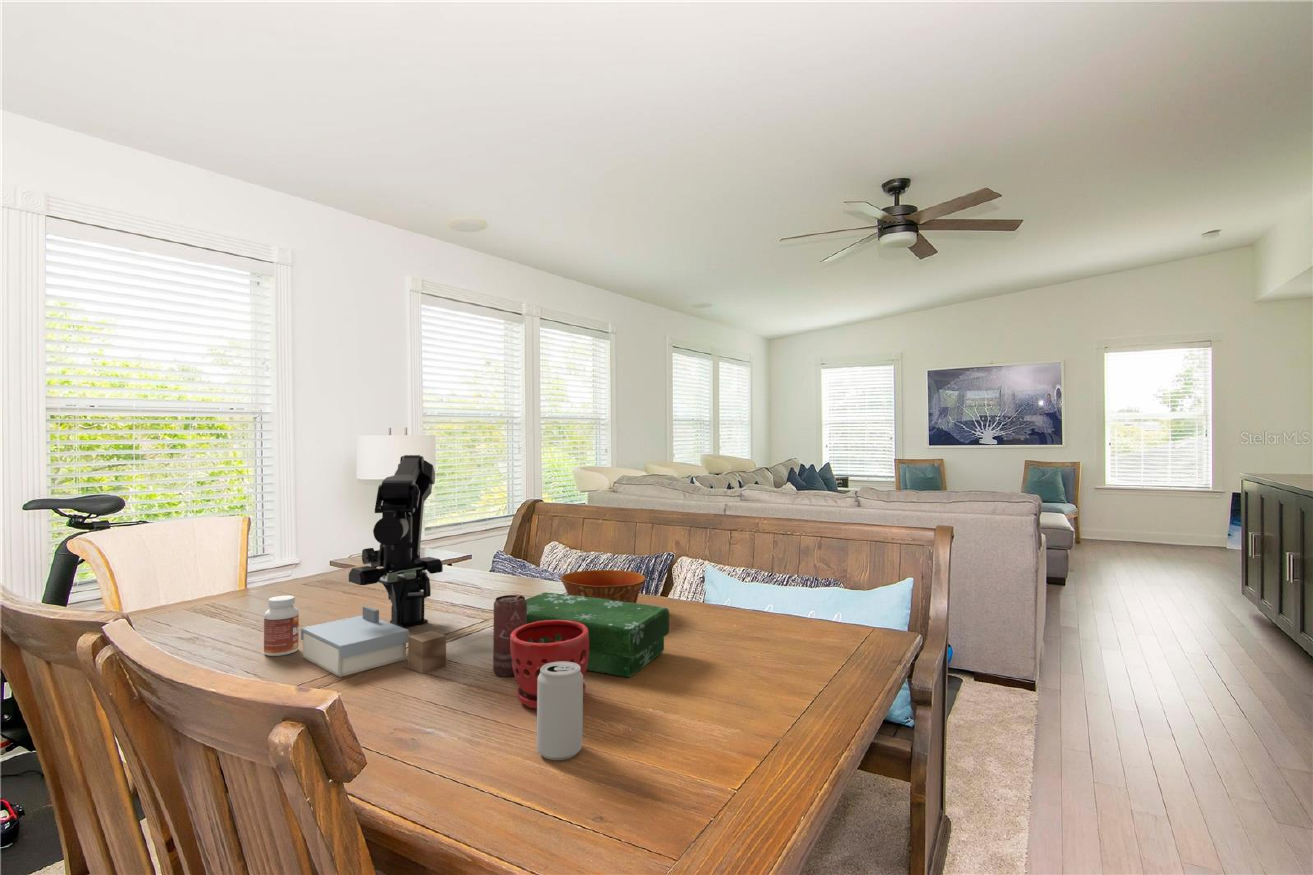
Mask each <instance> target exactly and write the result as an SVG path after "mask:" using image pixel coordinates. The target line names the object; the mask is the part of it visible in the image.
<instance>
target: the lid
mask: <svg viewBox="0 0 1313 875" xmlns="http://www.w3.org/2000/svg"><path fill="white" fill-rule="evenodd" d="M304 632H305V633H307V634H309V635H311V636H313V637H315V638H317V639H319V640H321V641H324V642H326V643H328V644H330V645H332V646H334V647H336V648H338V649H339V659H344V658H348V657H352V656H355V655H359V654H363V653H367V652H371V651H375V650H379V649H383V648H387V647H391V646H395V645H399V644H403V643H406V644H408V636H410V634H409V633H410V629H408V628H406V627H404V628H403V627H400V626H397V625H394V624H392V623H390V621H389V622H388V621H386V620H383V619H380V610H379V609H377V608H375V607H371V606H369V605H366V606H362V614H360V615H357V616H352V617H346V618H342V619H341V618H340V619H338V620H332V621H327V622H322V623H318V624H317V623H316V624H312V625H308V626H303V627H300V641H303V633H304Z"/></svg>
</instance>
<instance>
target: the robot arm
mask: <svg viewBox="0 0 1313 875" xmlns="http://www.w3.org/2000/svg"><path fill="white" fill-rule="evenodd" d="M399 461H400V462H399V464H397V469H396V470H395V473H394V474H393V475H391V476H387V477H385V478H384V479H383V480H382V481H381V484H379V485H378V487H377V494H376V499H375V506H374V514H382V517H381V518H380V519H379V520H378V521H376V523H375V524H374V526H373V530H372V533H373V536H374V539H375V540H376V541H377V542H378V543H379V549H378V550H375V549H374V548H373V547H369V548H368V547H367V548H364V549H362V551H361V562H362V564H363V565H364V566H358V567H357V566H356V567H353V568H351V569H350V571H349V572H348V582H349V583H352V584H356V585H357V586H358V585H359V586H368V585H374V584H377V583H379V584H382V585H383V587H384V588H385V590H386V593H387V594H388V600H390V602H391V610H390V611H391V613H390V614H391V615H390V616H391V619H390V620H389V623H391V624H394V625H397V626H399V627H402V628H408V627H412V626H417V625H420V624H425V623H428V622H429V619H426V618H425V599H427V598H429V597H431V596H432V595H431V594H432V593H431V592H432V591H431V589H432V588H431V580H430V577H429V576H428V573H429V574H431V575H433V574H438V573H442V572H443V571H444V570H443V569H444V568H443V562H442V560H441V559H439V558H436V557H431V556H426V557H420V554H421V545H422V531H423V530H422V528H423V518H424V517H423V516H424V507H425V506H424V504H425V501H426V500H427V499H428V497H429V496H430V495H431V494H432V490H433V485H435V483H436V473H435V471H436V470H435V469H434V468H435V467H434V465H433V464H432V463H431V462H429V461H427V460H425V458H424V455H420V454H417V455H416V454H415V455H414V454H413V455H411V454H409V455H408V454H404V455H401V456H400V460H399ZM369 565H370V566H369Z"/></svg>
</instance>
